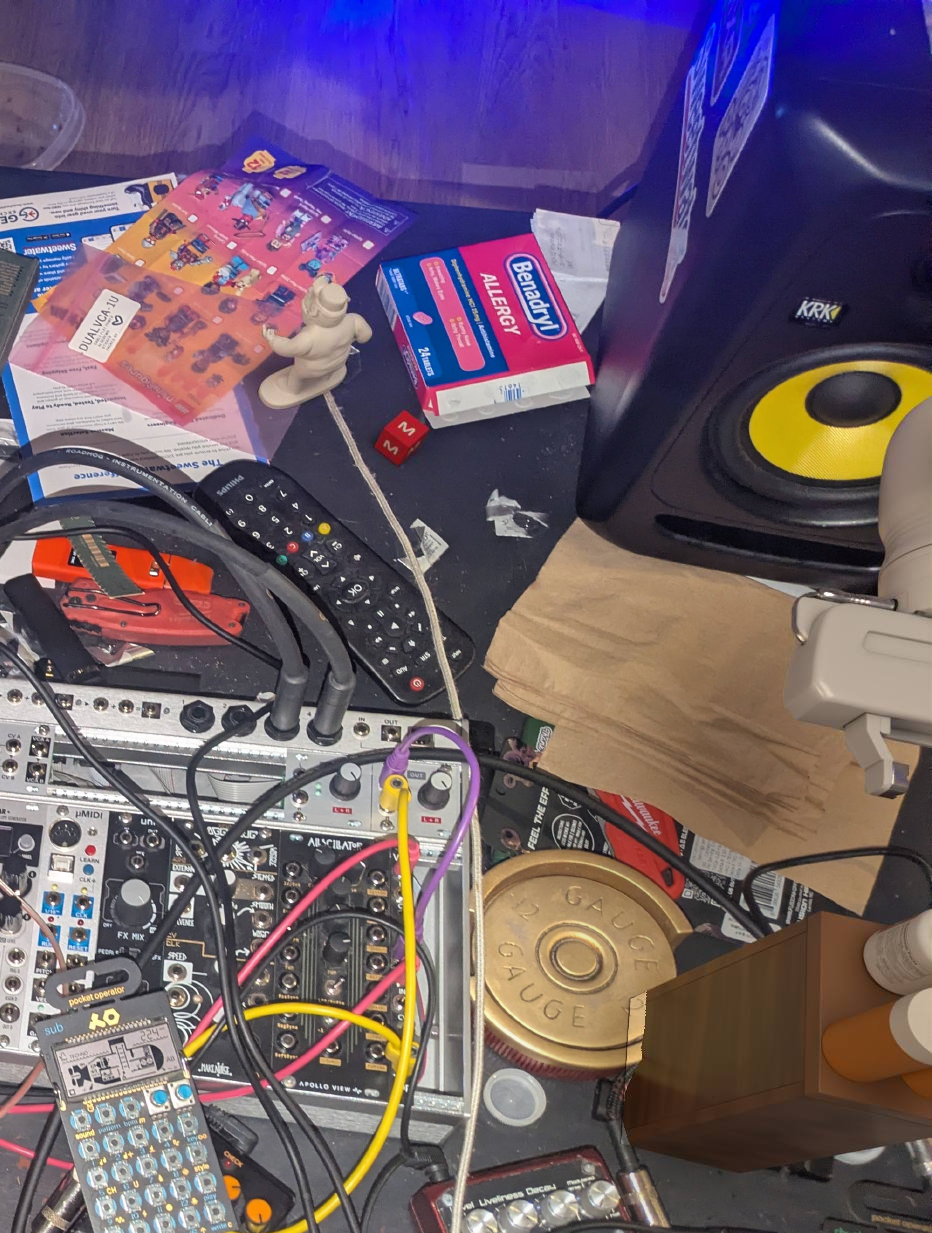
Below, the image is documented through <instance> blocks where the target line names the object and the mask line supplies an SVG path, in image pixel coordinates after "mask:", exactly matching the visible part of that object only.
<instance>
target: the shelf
mask: <svg viewBox="0 0 932 1233" xmlns="http://www.w3.org/2000/svg"><path fill="white" fill-rule="evenodd" d="M807 917H808V929H807V982H806V1036H805V1089H804V1096H806V1097H810V1098H814V1099H818V1100H822V1101H826V1102H831V1103H835V1104H839V1105H843V1106H848V1107H852V1108H856V1109H860V1110H864V1111H869V1112H873V1113H877V1114H881V1115H886V1116H890V1117H894V1118H898V1119H902V1120H907V1121H911V1122H915V1123H919V1124H923V1125H928V1126H932V1100H931V1099H928V1098H925V1097H923V1096H921V1095H919V1094H918V1093H916V1092H915V1091H913V1090H912V1089H911V1088H910V1087H909V1086H908V1085H907V1084H906V1082H905V1081H904V1080H903V1078H902V1076H901V1075H898V1076H894V1077H890V1078H886V1079H882V1080H878V1081H874V1082H870V1083H860V1082H855V1081H852V1080H849V1079H847V1078H845V1077H843V1076H842V1075H840V1074H839V1073H837V1072H836V1071H835V1070H834V1069H833V1068H832V1067H831V1065H830V1064H829V1063H828V1061H827V1060H826V1058H825V1055H824V1053H823V1049H822V1038H823V1034H824V1032H825V1030H826V1029H827V1027H828V1026H829V1025H830V1024H831V1023H833V1022H835V1021H837V1020H839V1019H842V1018H845V1017H848V1016H851V1015H854V1014H858V1013H861V1012H864V1011H867V1010H870V1009H873V1008H876V1007H879V1006H882V1005H885V1004H888V1003H891V1002H894V1001H897V1000H899V999H901V998H902V997H904V996H906V995H900V994H896V993H894V992H891V991H889V990H887V989H885V988H883V987H882V986H881V985H880V984H878V983H877V982H876V981H875V980H874V979H873V977H872V976H871V975H870V973H869V972H868V970H867V967H866V965H865V961H864V947H865V944H866V942H867V940H868V939H869V938H870V937H871V936H872V935H873V934H874V933H876V932H878V931H879V930H882V929H884V928H886V927H889V926H890V925H889V924H884V923H879V922H875V921H870V920H865V919H863V918H862V919H861V918H857V917H854V916H853V917H852V916H848V915H843V914H839V913H835V912H834V913H833V912H830V911H825V910H820V911H818V912H815V913H813V914H811V915H810V916H807Z"/></svg>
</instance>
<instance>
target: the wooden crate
mask: <svg viewBox="0 0 932 1233" xmlns="http://www.w3.org/2000/svg"><path fill="white" fill-rule="evenodd" d="M808 917H809V916H807V917H805V918H802V919H800V920H798V921H796V922H793V923H791V924H789V925H787V926H785V927H782V928H780V929H778V930H776V931H773V932H771V933H769V934H767V935H764V936H763V937H761V938H759V939H757V940H754V941H752V942H750V943H748V944H745V945H743V946H741V947H739V948H736V949H734V950H732V951H730V952H728V953H725V954H724V955H721V956H719V957H717V958H715V959H713V960H710V961H708V962H705V963H704V964H702V965H699V966H697V967H694V968H693V969H691V970H689V971H686V972H684V973H682V974H680V975H678V976H675V977H673V978H670V979H669V980H666V981H665V982H662V983H660V984H658V985H655V986H653V987H651V988H648V989H647V990H646V991H647V992H646V993H647V994H646V996H647V997H646V1004H645V1005H646V1010H645V1011H646V1013H645V1014H646V1016H645V1026H644V1027H645V1029H644V1034H643V1039H642V1041H643V1042H642V1046H641V1049H642V1050H641V1051H642V1060H641V1061H640V1062H639V1064H638V1066H637V1067H636V1069H635V1070H634V1071H633V1074H632V1078H631V1080H630V1082H629V1084H628V1086H627V1090H626V1092H625V1101H624V1106H623V1105H622V1110H623V1117H622V1116H621V1122H622V1121H623V1123H624V1128H625V1130H626V1134H627V1138H628V1141H629V1143H630V1145H631V1146H630V1147H632V1148H636V1149H639V1150H644V1151H648V1152H651V1153H656V1154H660V1155H664V1156H669V1157H673V1158H677V1159H681V1160H685V1161H690V1162H693V1163H697V1164H701V1165H705V1166H709V1167H714V1168H718V1169H720V1170H721V1169H722V1170H726V1171H728V1172H729V1171H730V1172H733V1173H738V1174H743V1173H749V1172H754V1171H759V1170H765V1169H770V1168H774V1167H780V1166H785V1165H792V1164H797V1163H801V1162H808V1161H812V1160H818V1159H824V1158H830V1157H834V1156H835V1157H836V1156H840V1155H846V1154H851V1153H856V1152H861V1151H866V1150H873V1149H877V1148H884V1147H889V1146H895V1145H900V1144H905V1143H911V1142H916V1141H922V1140H927V1139H932V1126H928V1125H923V1124H919V1123H915V1122H911V1121H907V1120H902V1119H898V1118H894V1117H890V1116H886V1115H881V1114H877V1113H873V1112H869V1111H864V1110H860V1109H856V1108H852V1107H848V1106H843V1105H839V1104H835V1103H831V1102H826V1101H822V1100H818V1099H814V1098H810V1097H806V1096H804V1089H805V1036H806V982H807V929H808Z"/></svg>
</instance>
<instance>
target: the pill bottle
mask: <svg viewBox="0 0 932 1233" xmlns="http://www.w3.org/2000/svg"><path fill="white" fill-rule="evenodd" d="M864 961H865V965H866V967H867V970H868V972H869V973H870V975H871V976H872V977H873V979H874V980H875V981H876V982H877V983H878V984H880V985H881V986H882V987H883V988H885V989H887V990H889V991H891V992H894V993H896V994H900V995H909V994H912V993H915V992H918V991H921V990H924V989H927V988H932V908H930V909H927V910H924V911H922V912H920V913H918V914H915V915H912V916H910V917H908V918H906V919H903V920H901V921H898V922H895V923H893V924H892V925H889V927H886V928H884V929H882V930H879V931H878V932H876V933H874V934H873V935H872V936H871V937H870V938H869V939H868V940H867V942H866V944H865V947H864Z"/></svg>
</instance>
